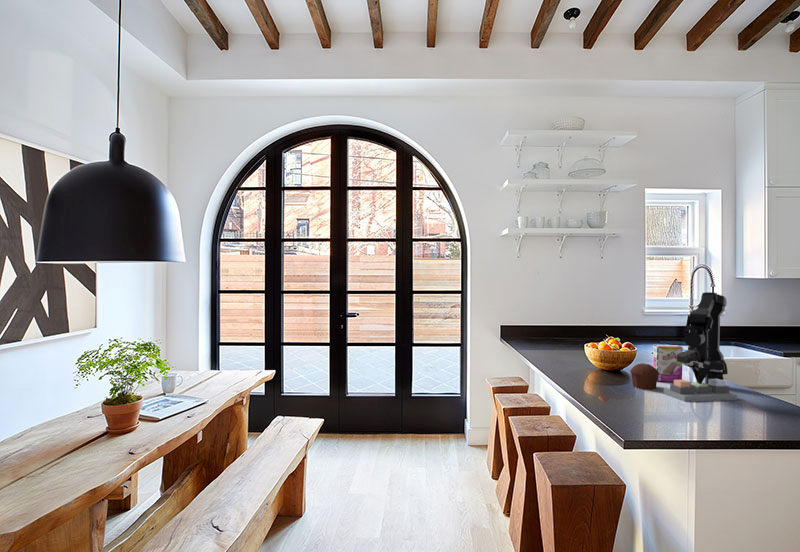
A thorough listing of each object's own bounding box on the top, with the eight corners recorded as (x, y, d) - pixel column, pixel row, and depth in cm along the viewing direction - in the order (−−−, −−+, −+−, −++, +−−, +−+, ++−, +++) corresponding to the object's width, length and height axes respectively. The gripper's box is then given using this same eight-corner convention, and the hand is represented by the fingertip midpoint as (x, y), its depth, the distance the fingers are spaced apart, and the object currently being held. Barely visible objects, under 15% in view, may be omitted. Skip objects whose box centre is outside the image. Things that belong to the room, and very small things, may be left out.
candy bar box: (657, 382, 211) (657, 346, 211) (652, 379, 216) (652, 344, 216) (683, 382, 210) (683, 346, 210) (677, 380, 215) (677, 344, 215)
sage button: (691, 389, 187) (691, 382, 187) (700, 389, 187) (700, 382, 187) (698, 392, 183) (698, 384, 183) (707, 392, 183) (707, 384, 184)
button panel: (663, 393, 190) (663, 382, 190) (713, 392, 192) (713, 381, 192) (684, 401, 178) (684, 389, 178) (737, 399, 180) (737, 388, 180)
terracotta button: (673, 387, 186) (673, 379, 186) (683, 387, 187) (683, 379, 187) (680, 389, 182) (680, 382, 182) (690, 389, 183) (690, 381, 183)
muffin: (663, 391, 194) (663, 367, 194) (634, 390, 196) (634, 366, 196) (653, 384, 206) (653, 362, 206) (626, 383, 208) (626, 361, 208)
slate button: (708, 386, 188) (708, 379, 188) (717, 386, 188) (717, 378, 188) (716, 388, 184) (716, 381, 184) (725, 388, 184) (725, 380, 184)
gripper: (664, 341, 194) (664, 378, 194) (698, 348, 175) (698, 389, 175) (689, 341, 195) (689, 378, 195) (725, 347, 176) (725, 388, 176)
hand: (699, 383), depth 185 cm, fingers closed, pressing on sage button
